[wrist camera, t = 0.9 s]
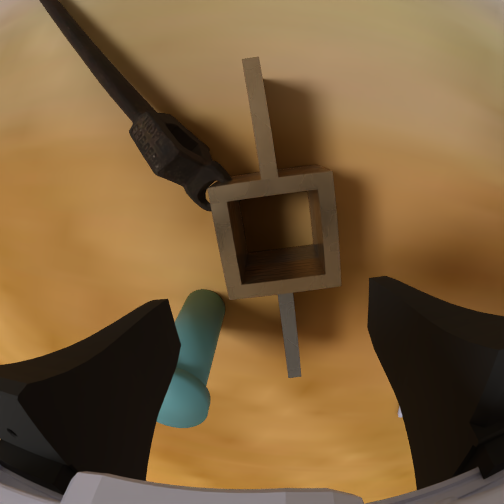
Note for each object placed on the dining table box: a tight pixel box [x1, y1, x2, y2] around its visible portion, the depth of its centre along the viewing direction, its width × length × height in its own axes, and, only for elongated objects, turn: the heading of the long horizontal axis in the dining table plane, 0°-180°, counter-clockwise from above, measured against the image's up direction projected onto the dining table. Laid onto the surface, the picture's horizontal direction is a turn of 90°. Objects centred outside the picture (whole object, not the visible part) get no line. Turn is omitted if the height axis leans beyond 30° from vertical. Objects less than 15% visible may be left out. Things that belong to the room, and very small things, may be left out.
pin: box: [157, 289, 225, 428], centre depth 18 cm, size 4×4×10 cm
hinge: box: [208, 57, 341, 378], centre depth 18 cm, size 18×6×5 cm, turn 9°
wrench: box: [40, 0, 232, 211], centre depth 14 cm, size 5×5×30 cm
